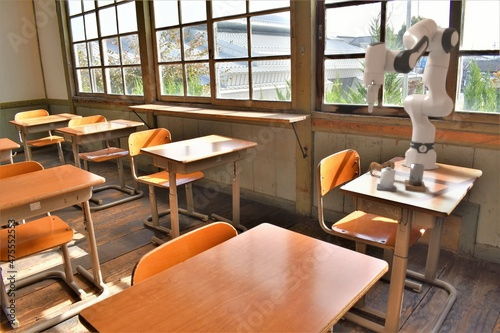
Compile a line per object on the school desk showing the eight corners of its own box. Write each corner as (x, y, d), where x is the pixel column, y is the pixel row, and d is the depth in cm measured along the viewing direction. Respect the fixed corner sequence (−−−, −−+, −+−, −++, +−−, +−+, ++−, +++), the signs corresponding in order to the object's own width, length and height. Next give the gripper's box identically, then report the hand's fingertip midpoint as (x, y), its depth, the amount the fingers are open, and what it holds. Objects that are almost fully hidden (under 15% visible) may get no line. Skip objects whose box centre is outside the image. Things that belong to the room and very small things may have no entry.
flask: (408, 182, 174) (410, 163, 172) (421, 183, 172) (423, 164, 170) (408, 185, 169) (411, 165, 167) (422, 186, 167) (424, 167, 165)
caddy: (404, 183, 178) (405, 175, 177) (423, 185, 176) (424, 177, 175) (405, 190, 169) (406, 181, 168) (425, 192, 167) (426, 183, 166)
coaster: (377, 184, 176) (377, 183, 176) (395, 186, 174) (395, 185, 173) (376, 189, 169) (376, 188, 169) (395, 192, 166) (396, 190, 166)
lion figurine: (395, 178, 187) (397, 160, 185) (391, 180, 183) (393, 162, 181) (366, 172, 196) (368, 155, 194) (362, 174, 193) (363, 157, 190)
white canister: (379, 184, 174) (381, 165, 172) (393, 186, 173) (395, 166, 170) (379, 188, 169) (381, 168, 167) (393, 189, 167) (395, 169, 165)
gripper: (380, 81, 159) (377, 114, 163) (381, 79, 178) (378, 109, 181) (364, 80, 161) (361, 113, 165) (367, 79, 180) (364, 108, 183)
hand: (370, 111), depth 173 cm, fingers open, 8 cm apart
